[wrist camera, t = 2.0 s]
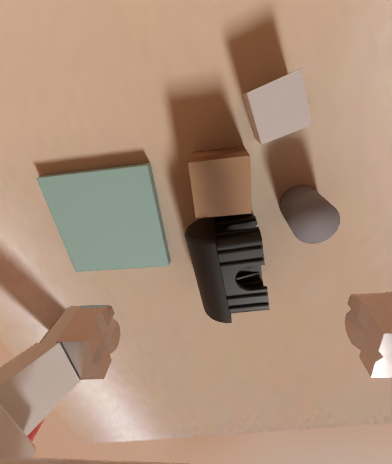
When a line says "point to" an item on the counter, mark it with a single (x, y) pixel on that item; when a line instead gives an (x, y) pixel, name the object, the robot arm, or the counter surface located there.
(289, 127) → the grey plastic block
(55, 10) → the counter surface
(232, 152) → the walnut block
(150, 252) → the teal board
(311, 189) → the grey rounded piece
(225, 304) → the end cap
